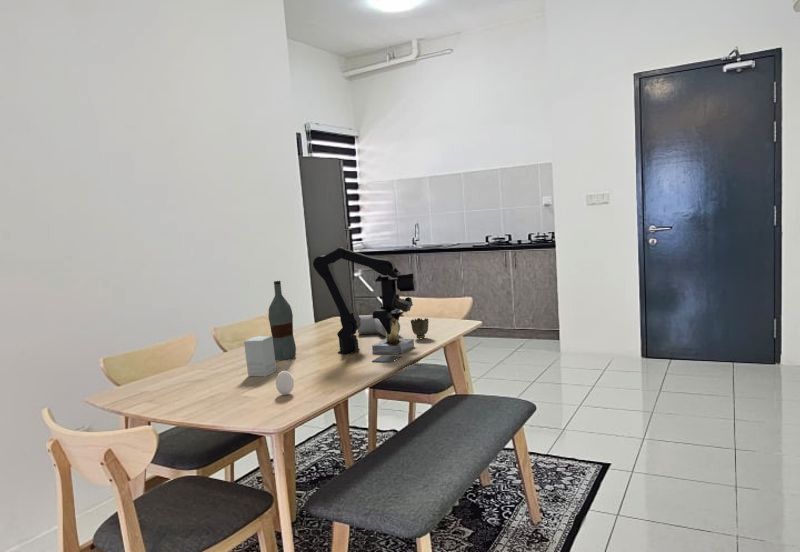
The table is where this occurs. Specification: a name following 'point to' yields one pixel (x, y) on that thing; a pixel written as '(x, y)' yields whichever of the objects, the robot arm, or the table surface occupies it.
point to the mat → (386, 358)
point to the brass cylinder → (393, 333)
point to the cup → (420, 327)
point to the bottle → (281, 326)
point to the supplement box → (260, 356)
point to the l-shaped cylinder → (372, 325)
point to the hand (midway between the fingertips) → (392, 332)
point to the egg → (284, 382)
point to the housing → (393, 346)
